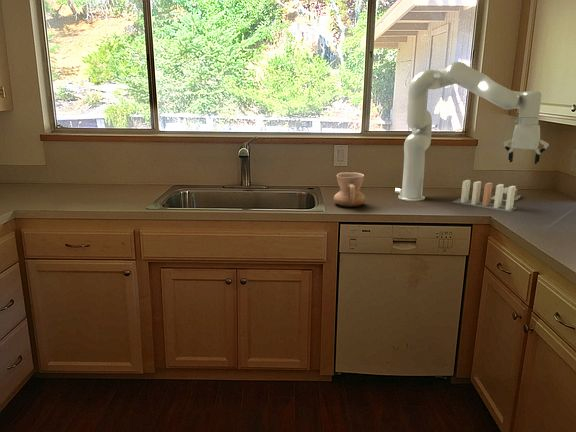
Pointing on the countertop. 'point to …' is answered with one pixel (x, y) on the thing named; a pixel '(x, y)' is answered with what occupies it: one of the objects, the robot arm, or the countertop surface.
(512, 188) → the domino
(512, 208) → the mat
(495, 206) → the domino
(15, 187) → the countertop surface
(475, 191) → the domino
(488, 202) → the domino
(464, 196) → the domino
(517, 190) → the packaged product
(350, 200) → the ceramic jug
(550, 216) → the countertop surface
